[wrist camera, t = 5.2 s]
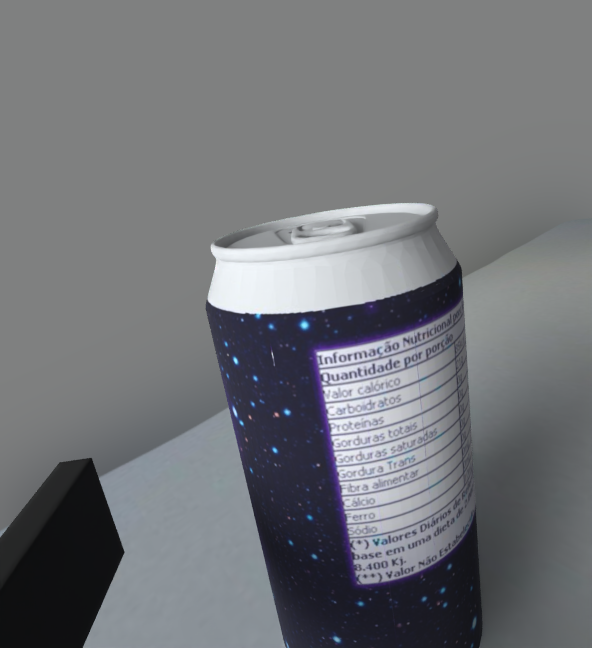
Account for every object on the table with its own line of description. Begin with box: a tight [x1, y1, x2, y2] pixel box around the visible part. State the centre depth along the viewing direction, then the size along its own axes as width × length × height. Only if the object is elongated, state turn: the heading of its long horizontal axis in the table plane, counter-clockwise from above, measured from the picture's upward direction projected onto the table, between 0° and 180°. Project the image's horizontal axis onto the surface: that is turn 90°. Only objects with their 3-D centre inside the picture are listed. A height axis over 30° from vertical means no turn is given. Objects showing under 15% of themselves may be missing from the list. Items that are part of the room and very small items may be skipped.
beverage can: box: [206, 203, 482, 648], centre depth 12 cm, size 6×6×12 cm
